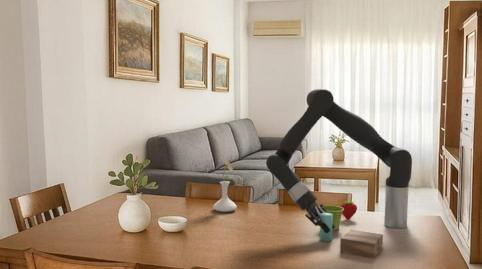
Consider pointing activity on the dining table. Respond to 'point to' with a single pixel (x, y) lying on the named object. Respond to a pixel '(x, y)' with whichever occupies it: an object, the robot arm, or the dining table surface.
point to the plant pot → (335, 215)
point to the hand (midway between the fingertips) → (330, 230)
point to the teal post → (328, 221)
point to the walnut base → (361, 243)
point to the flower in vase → (225, 194)
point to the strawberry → (348, 209)
